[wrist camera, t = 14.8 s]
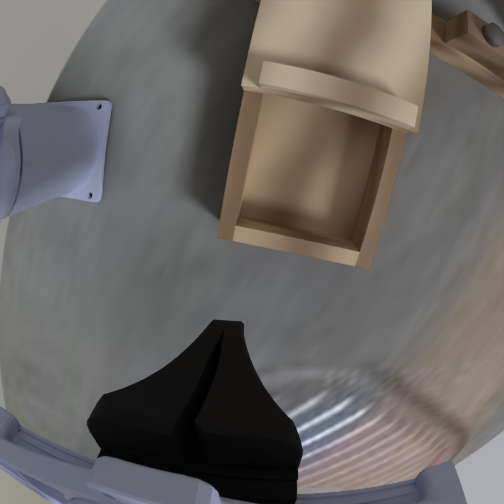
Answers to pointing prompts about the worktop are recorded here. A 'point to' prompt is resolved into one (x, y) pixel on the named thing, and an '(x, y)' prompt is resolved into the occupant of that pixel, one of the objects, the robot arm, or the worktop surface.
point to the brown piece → (319, 171)
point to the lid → (344, 56)
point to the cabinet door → (477, 40)
